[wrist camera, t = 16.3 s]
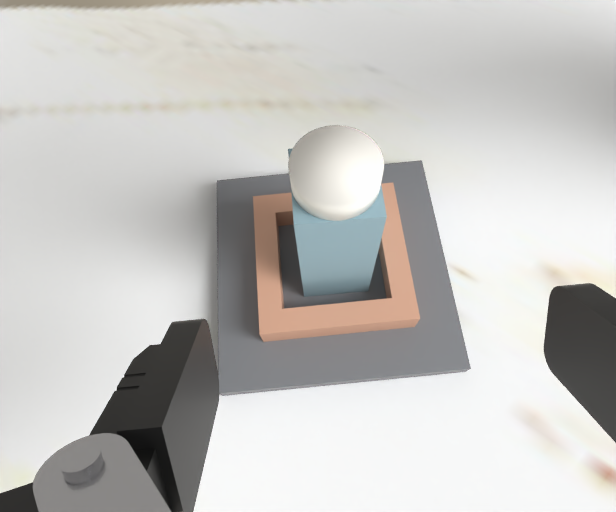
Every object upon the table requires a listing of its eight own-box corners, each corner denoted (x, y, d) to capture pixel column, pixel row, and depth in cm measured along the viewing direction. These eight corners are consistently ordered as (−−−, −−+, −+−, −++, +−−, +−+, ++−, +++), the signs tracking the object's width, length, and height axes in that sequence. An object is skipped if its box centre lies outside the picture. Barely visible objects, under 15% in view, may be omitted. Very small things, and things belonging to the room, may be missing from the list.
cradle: (418, 169, 36) (426, 144, 33) (465, 371, 29) (480, 362, 27) (220, 189, 36) (210, 165, 33) (222, 395, 29) (211, 389, 27)
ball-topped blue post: (360, 233, 33) (376, 121, 22) (368, 291, 31) (391, 200, 20) (299, 239, 33) (285, 129, 22) (304, 296, 31) (291, 208, 20)
